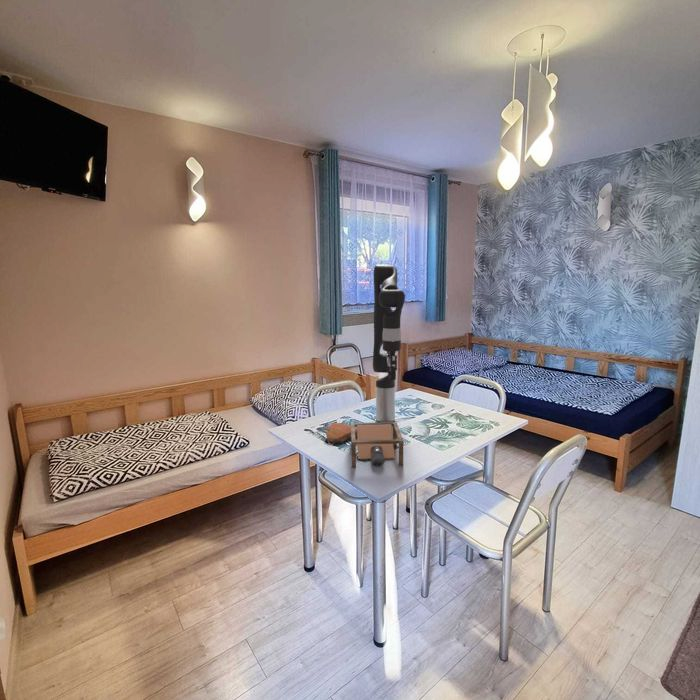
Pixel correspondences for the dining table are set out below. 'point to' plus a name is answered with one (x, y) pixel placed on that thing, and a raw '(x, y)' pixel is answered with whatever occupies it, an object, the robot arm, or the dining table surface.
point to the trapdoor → (374, 434)
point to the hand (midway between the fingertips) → (391, 377)
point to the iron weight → (377, 455)
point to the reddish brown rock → (339, 432)
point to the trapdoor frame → (394, 441)
